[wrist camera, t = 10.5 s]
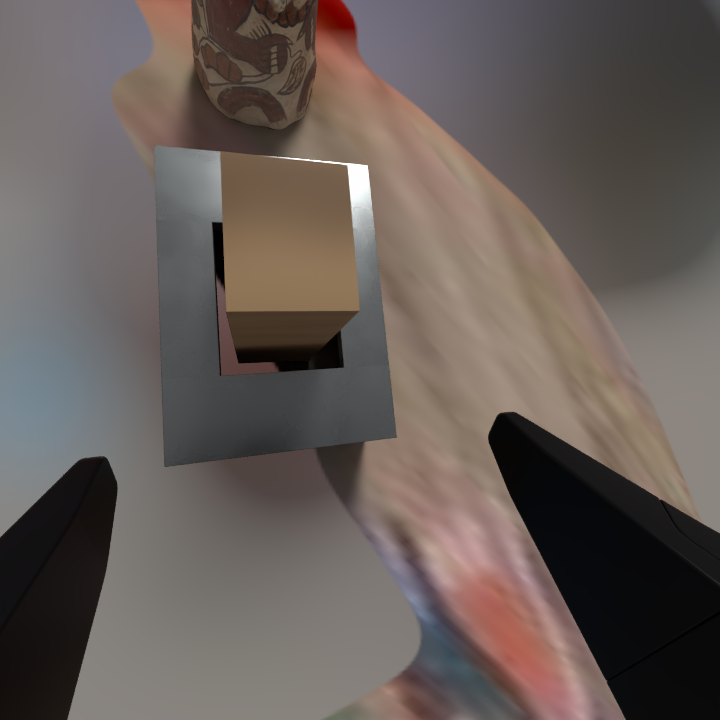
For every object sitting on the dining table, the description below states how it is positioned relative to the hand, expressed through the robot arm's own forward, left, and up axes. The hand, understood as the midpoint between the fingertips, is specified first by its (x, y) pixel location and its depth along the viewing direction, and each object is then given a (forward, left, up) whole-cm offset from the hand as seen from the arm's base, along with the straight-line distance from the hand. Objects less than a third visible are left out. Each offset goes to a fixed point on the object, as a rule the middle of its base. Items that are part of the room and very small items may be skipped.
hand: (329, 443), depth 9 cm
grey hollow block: (+6, -2, -13) cm, 15 cm away
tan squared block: (+6, -2, -13) cm, 15 cm away
